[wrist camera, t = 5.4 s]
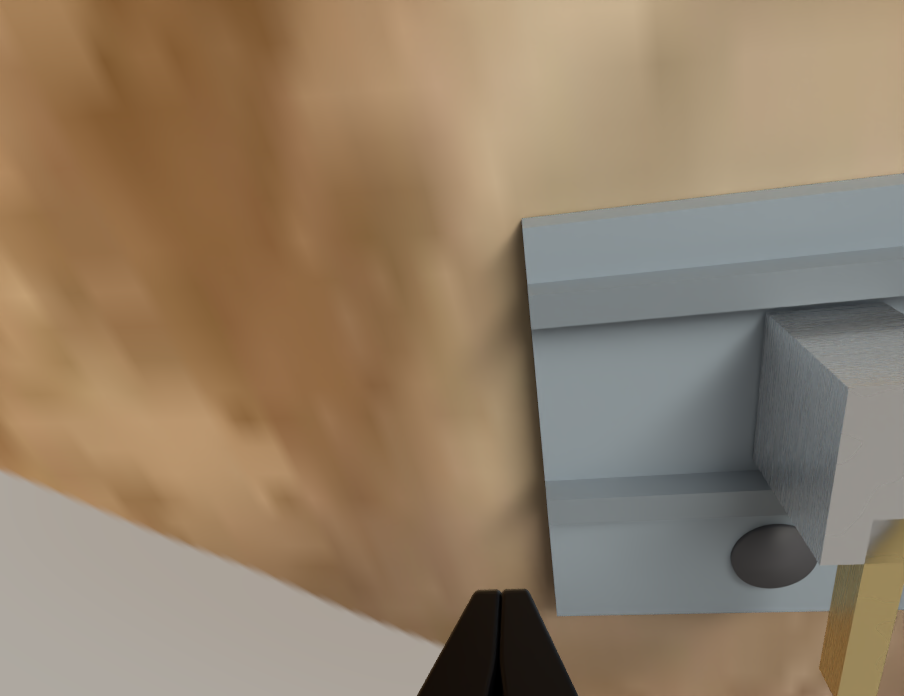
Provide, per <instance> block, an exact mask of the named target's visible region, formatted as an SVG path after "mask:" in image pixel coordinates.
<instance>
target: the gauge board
mask: <svg viewBox="0 0 904 696" xmlns="http://www.w3.org/2000/svg"><path fill="white" fill-rule="evenodd" d="M522 229H523V241H524V252H525V263H526V274H527V285H528V298H529V310H530V321H531V330H532V341H533V352H534V363H535V374H536V386H537V397H538V408H539V419H540V430H541V441H542V452H543V464H544V475H545V486H546V499H547V510H548V521H549V531H550V542H551V553H552V564H553V575H554V586H555V598H556V609H557V616H593V615H646V614H699V613H752V612H805V611H829V610H830V605H831V599H832V593H833V588H834V582H835V577H836V571H837V565H821V566H820V565H819V563H818V562H817V560H816V558H815V557H814V555H813V554H812V552H811V550H810V549H809V547H808V546H807V544H806V543H805V541H804V539H803V538H802V536H801V535H800V533H799V532H798V530H797V528H796V527H795V525H794V524H793V522H792V521H791V519H790V517H789V516H788V514H787V513H786V511H785V510H784V508H783V506H782V505H781V503H780V502H779V500H778V498H777V497H776V495H775V494H774V492H773V491H772V489H771V487H770V486H769V484H768V483H767V481H766V480H765V478H764V476H763V475H762V473H761V472H760V470H759V469H758V467H757V465H756V464H755V462H754V461H753V454H754V443H755V432H756V421H757V410H758V399H759V387H760V376H761V365H762V354H763V343H764V332H765V321H766V313H767V312H778V311H790V310H801V309H812V308H823V307H834V306H846V305H857V304H868V303H879V302H884V303H886V304H887V305H889V306H891V307H892V308H894V309H896V310H897V311H899V312H901V313H903V314H904V173H903V174H894V175H886V176H877V177H869V178H861V179H852V180H844V181H835V182H827V183H818V184H810V185H801V186H793V187H784V188H776V189H768V190H759V191H751V192H742V193H734V194H725V195H717V196H708V197H700V198H692V199H683V200H675V201H666V202H658V203H649V204H641V205H632V206H624V207H615V208H607V209H599V210H590V211H582V212H573V213H565V214H556V215H548V216H539V217H531V218H522ZM898 610H904V586H903V591H902V595H901V599H900V603H899V607H898Z"/></svg>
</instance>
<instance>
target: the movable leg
mask: <svg viewBox="0 0 904 696" xmlns="http://www.w3.org/2000/svg"><path fill="white" fill-rule="evenodd" d="M753 461H754V462H755V464H756V465H757V467H758V469H759V470H760V472H761V473H762V475H763V476H764V478H765V480H766V481H767V483H768V484H769V486H770V487H771V489H772V491H773V492H774V494H775V495H776V497H777V498H778V500H779V502H780V503H781V505H782V506H783V508H784V510H785V511H786V513H787V514H788V516H789V517H790V519H791V521H792V522H793V524H794V525H795V527H796V528H797V530H798V532H799V533H800V535H801V536H802V538H803V539H804V541H805V543H806V544H807V546H808V547H809V549H810V550H811V552H812V554H813V555H814V557H815V558H816V560H817V562H818V563H819V565H820V566H821V565H837V571H836V577H835V582H834V588H833V593H832V599H831V605H830V610H829V616H828V621H827V627H826V633H825V638H824V644H823V649H822V655H821V661H820V666H819V669H820V671H821V673H822V675H823V677H824V679H825V681H826V683H827V685H828V687H829V689H830V690H831V692H832V694H833V696H877V692H878V688H879V684H880V680H881V676H882V672H883V668H884V664H885V660H886V656H887V652H888V648H889V643H890V639H891V635H892V631H893V627H894V623H895V619H896V615H897V611H898V607H899V603H900V599H901V595H902V591H903V586H904V314H903V313H901V312H899V311H897V310H896V309H894V308H892V307H891V306H889V305H887V304H886V303H884V302H879V303H868V304H857V305H846V306H834V307H823V308H812V309H801V310H790V311H778V312H767V313H766V321H765V332H764V343H763V354H762V365H761V376H760V387H759V399H758V410H757V421H756V432H755V443H754V454H753Z"/></svg>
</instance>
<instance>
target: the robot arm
mask: <svg viewBox="0 0 904 696" xmlns="http://www.w3.org/2000/svg"><path fill="white" fill-rule="evenodd" d="M417 696H578V694H577V692H576V690H575V688H574V686H573V684H572V682H571V679H570V677H569V675H568V673H567V671H566V669H565V667H564V665H563V662H562V660H561V658H560V656H559V654H558V652H557V650H556V648H555V646H554V643H553V641H552V639H551V637H550V635H549V633H548V631H547V629H546V626H545V624H544V622H543V620H542V618H541V616H540V614H539V612H538V610H537V607H536V605H535V603H534V601H533V599H532V597H531V595H530V593H529V591H528V590H526V589H505V590H504V591H503V592H502V593H501V592H500V591H499V590H497V589H495V590H477V591H476V592H475V593H474V594H473V595H472V597H471V599H470V601H469V603H468V604H467V606H466V608H465V610H464V612H463V613H462V615H461V617H460V619H459V621H458V622H457V624H456V626H455V628H454V630H453V631H452V633H451V635H450V637H449V639H448V641H447V642H446V644H445V646H444V648H443V650H442V651H441V653H440V655H439V657H438V659H437V660H436V662H435V664H434V666H433V668H432V669H431V671H430V673H429V675H428V677H427V679H426V680H425V683H424V684H423V686H422V688H421V689H420V691H419V693H418V695H417Z"/></svg>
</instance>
